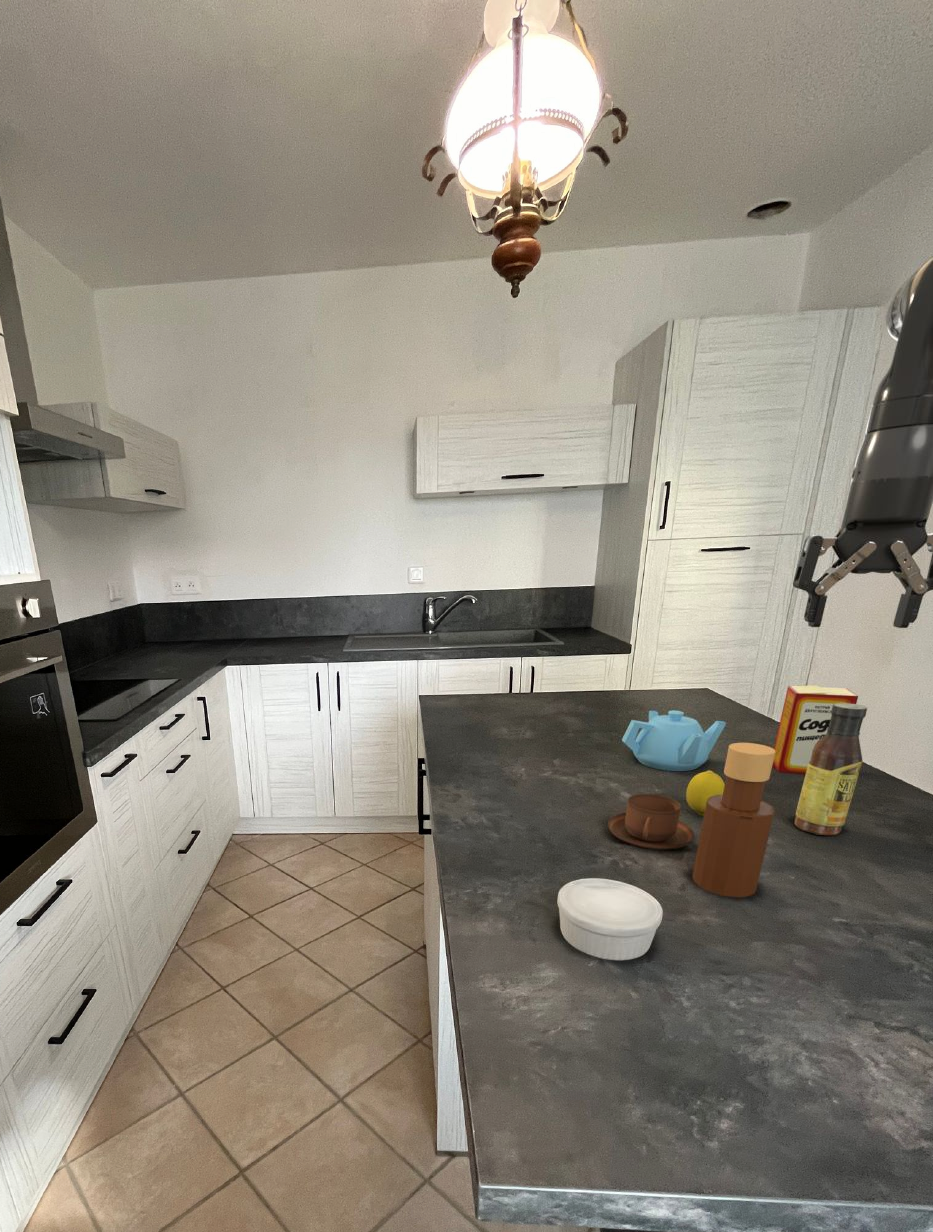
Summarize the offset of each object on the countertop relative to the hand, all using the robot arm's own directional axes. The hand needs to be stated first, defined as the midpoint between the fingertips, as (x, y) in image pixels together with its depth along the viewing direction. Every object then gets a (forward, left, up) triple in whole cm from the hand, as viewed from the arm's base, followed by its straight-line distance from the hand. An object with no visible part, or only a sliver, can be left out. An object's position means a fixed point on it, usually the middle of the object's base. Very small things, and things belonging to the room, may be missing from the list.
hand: (856, 626), depth 74 cm
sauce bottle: (-7, -16, -33) cm, 38 cm away
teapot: (+11, -45, -33) cm, 57 cm away
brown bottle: (+10, +8, -33) cm, 35 cm away
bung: (+10, +8, -19) cm, 23 cm away
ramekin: (+25, +25, -33) cm, 48 cm away
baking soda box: (-13, -47, -33) cm, 59 cm away
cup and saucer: (+18, -5, -33) cm, 38 cm away
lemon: (+9, -17, -33) cm, 38 cm away
